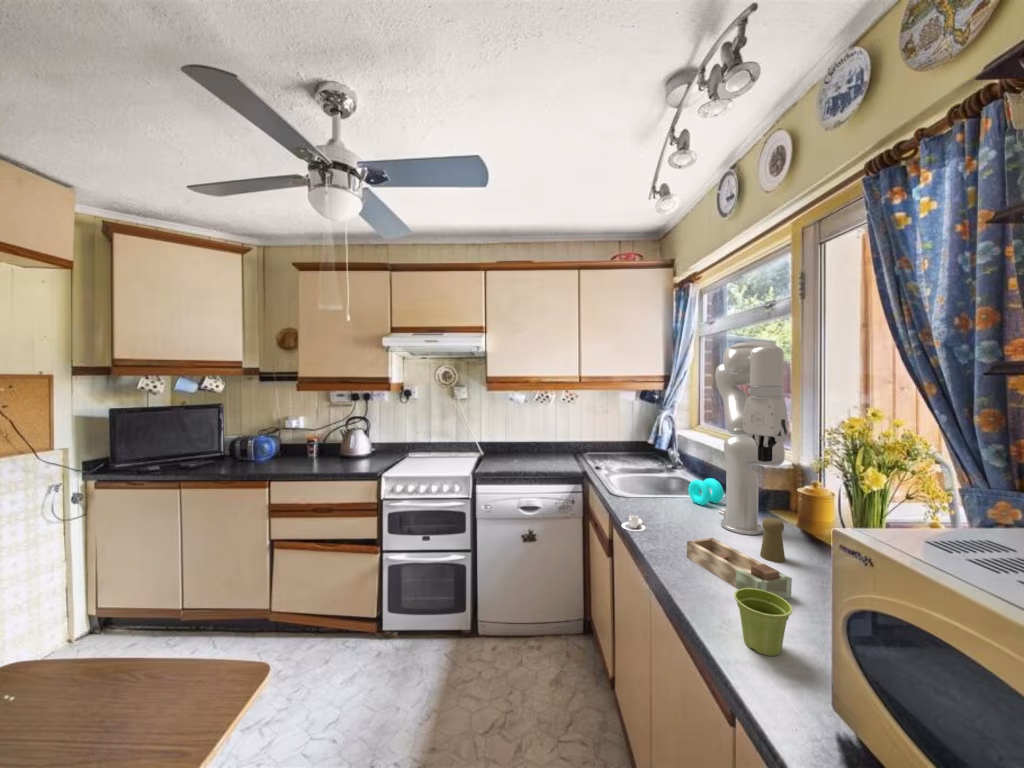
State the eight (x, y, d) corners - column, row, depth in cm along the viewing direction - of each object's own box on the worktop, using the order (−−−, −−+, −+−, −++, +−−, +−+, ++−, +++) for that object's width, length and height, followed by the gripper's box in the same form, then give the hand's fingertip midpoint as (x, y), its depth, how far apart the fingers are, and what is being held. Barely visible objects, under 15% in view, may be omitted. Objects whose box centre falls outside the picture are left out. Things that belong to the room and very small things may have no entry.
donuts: (725, 505, 158) (725, 481, 158) (706, 508, 154) (706, 483, 154) (704, 498, 167) (704, 475, 167) (686, 501, 164) (686, 477, 163)
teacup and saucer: (636, 522, 141) (636, 510, 141) (652, 530, 133) (652, 518, 133) (616, 525, 137) (616, 514, 137) (631, 534, 130) (631, 521, 130)
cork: (761, 551, 117) (762, 514, 116) (786, 556, 113) (787, 518, 113) (758, 558, 112) (759, 519, 112) (784, 564, 108) (784, 525, 108)
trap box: (686, 556, 113) (687, 541, 112) (712, 553, 115) (712, 537, 115) (761, 603, 90) (761, 583, 89) (791, 597, 92) (791, 578, 92)
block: (750, 582, 95) (751, 565, 95) (763, 579, 96) (763, 563, 96) (765, 590, 91) (765, 573, 91) (778, 588, 92) (779, 571, 92)
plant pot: (744, 659, 72) (745, 612, 72) (726, 627, 81) (727, 585, 81) (802, 666, 70) (803, 618, 70) (776, 632, 79) (777, 590, 79)
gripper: (732, 392, 112) (731, 456, 112) (781, 394, 97) (780, 468, 98) (752, 391, 114) (751, 454, 114) (804, 394, 99) (802, 466, 100)
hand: (764, 460), depth 106 cm, fingers closed
